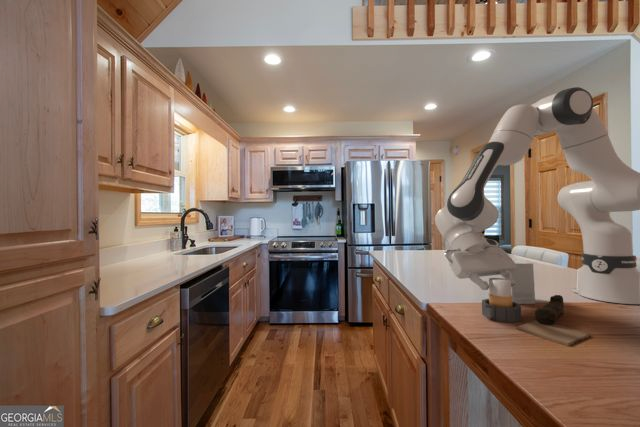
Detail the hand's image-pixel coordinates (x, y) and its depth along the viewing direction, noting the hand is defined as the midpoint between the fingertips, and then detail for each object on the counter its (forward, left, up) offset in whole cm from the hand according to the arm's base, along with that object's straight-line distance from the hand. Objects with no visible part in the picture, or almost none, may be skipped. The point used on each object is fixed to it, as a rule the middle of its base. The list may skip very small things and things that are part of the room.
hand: (499, 287), depth 74 cm
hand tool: (-10, +7, -8) cm, 14 cm away
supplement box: (-18, -6, -8) cm, 21 cm away
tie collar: (0, 0, -8) cm, 8 cm away
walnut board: (+1, +12, -8) cm, 14 cm away
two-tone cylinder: (0, 0, -8) cm, 8 cm away
